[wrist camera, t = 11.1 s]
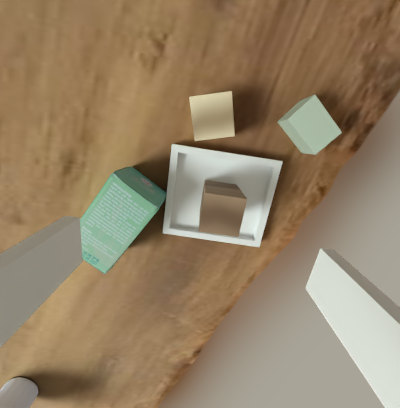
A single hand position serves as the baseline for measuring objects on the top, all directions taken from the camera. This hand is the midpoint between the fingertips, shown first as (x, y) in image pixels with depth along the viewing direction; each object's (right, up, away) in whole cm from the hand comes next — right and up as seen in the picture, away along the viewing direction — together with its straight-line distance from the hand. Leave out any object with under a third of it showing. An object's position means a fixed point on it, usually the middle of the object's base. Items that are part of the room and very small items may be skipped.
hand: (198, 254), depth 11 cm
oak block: (+2, +15, +18) cm, 23 cm away
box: (-12, +2, +23) cm, 26 cm away
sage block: (+15, +14, +18) cm, 27 cm away
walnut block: (+3, +4, +21) cm, 21 cm away
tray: (+3, +4, +21) cm, 22 cm away
